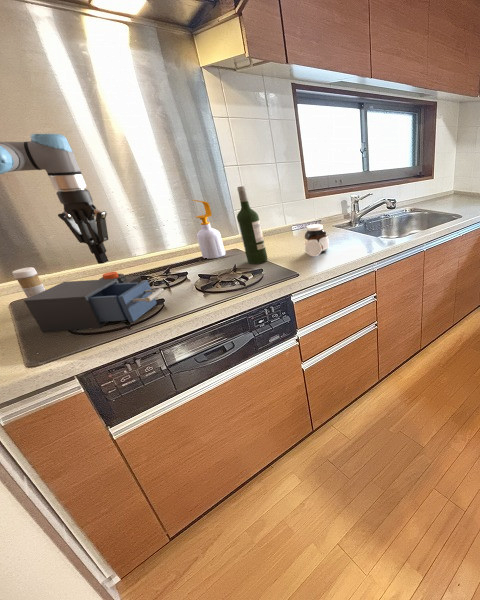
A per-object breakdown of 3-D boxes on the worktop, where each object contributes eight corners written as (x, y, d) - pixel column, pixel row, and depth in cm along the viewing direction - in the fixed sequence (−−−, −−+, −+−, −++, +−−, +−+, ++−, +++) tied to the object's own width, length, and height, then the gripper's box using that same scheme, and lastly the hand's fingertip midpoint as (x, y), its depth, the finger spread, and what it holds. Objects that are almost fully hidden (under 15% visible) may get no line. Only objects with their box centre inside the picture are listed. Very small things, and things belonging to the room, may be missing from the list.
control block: (87, 294, 109) (81, 283, 108) (107, 283, 118) (103, 273, 117) (124, 292, 110) (120, 281, 109) (142, 281, 119) (138, 271, 118)
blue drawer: (173, 302, 100) (165, 279, 97) (152, 320, 90) (141, 295, 86) (110, 306, 98) (99, 283, 95) (81, 325, 88) (67, 299, 85)
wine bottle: (268, 262, 135) (251, 187, 122) (247, 265, 132) (228, 188, 119) (267, 257, 141) (251, 185, 128) (248, 259, 139) (230, 186, 126)
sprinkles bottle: (54, 305, 102) (32, 265, 96) (58, 309, 100) (35, 268, 94) (34, 311, 99) (9, 270, 93) (37, 315, 96) (12, 273, 90)
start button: (101, 280, 111) (99, 276, 110) (109, 276, 114) (107, 271, 114) (113, 280, 111) (111, 275, 110) (121, 275, 115) (119, 271, 114)
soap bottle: (199, 257, 144) (181, 200, 133) (219, 251, 150) (203, 197, 140) (209, 260, 139) (192, 201, 128) (229, 255, 146) (214, 198, 135)
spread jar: (325, 247, 152) (322, 222, 147) (334, 253, 144) (331, 227, 139) (300, 252, 146) (296, 226, 141) (308, 258, 138) (304, 231, 133)
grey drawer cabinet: (129, 307, 100) (117, 278, 96) (100, 328, 89) (84, 296, 84) (79, 310, 99) (63, 281, 94) (42, 332, 87) (23, 300, 83)
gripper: (103, 187, 104) (130, 257, 114) (59, 188, 103) (91, 259, 113) (85, 190, 97) (116, 265, 107) (38, 191, 96) (73, 267, 106)
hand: (103, 262), depth 110 cm, fingers closed
